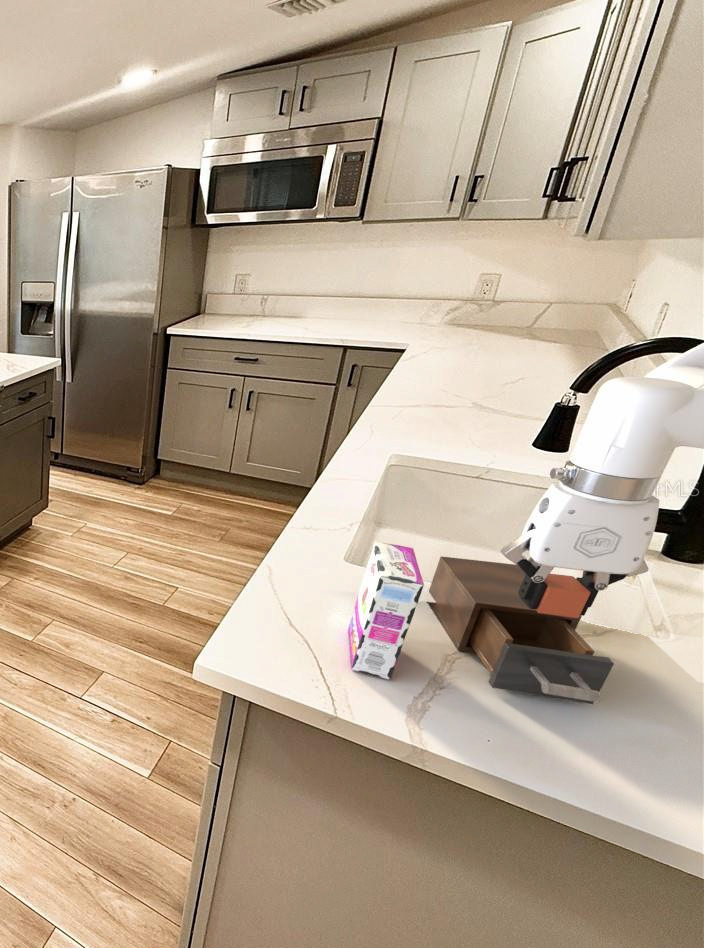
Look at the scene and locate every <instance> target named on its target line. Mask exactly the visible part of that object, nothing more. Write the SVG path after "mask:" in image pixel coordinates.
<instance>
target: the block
mask: <svg viewBox="0 0 704 948" xmlns="http://www.w3.org/2000/svg"><path fill="white" fill-rule="evenodd" d="M576 578H577V577H575V576H573V575H568V574H567V575H566V574H558V573H550V574H549V575H548V576H547V578H546V579H545V580H544V582H545V583H546V584H547V588H546V590H545V593H544V595H543V597H542V599H541V602H540V604H539V606H538V608H537V609H535V610H536V611H537V612H538V613H542V614H550V615H557V616H565V617H572V618H579V616H580V614H581V612H582V610H583V608H584V606H585V603H586V601H587V599H588V597H589V595H590V593H591V592H590V591H588V590H587V589H586V588H585V587H584V586H583V585H582V584H581V583H580V582H579V581H578V580H577V579H576Z"/></svg>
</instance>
